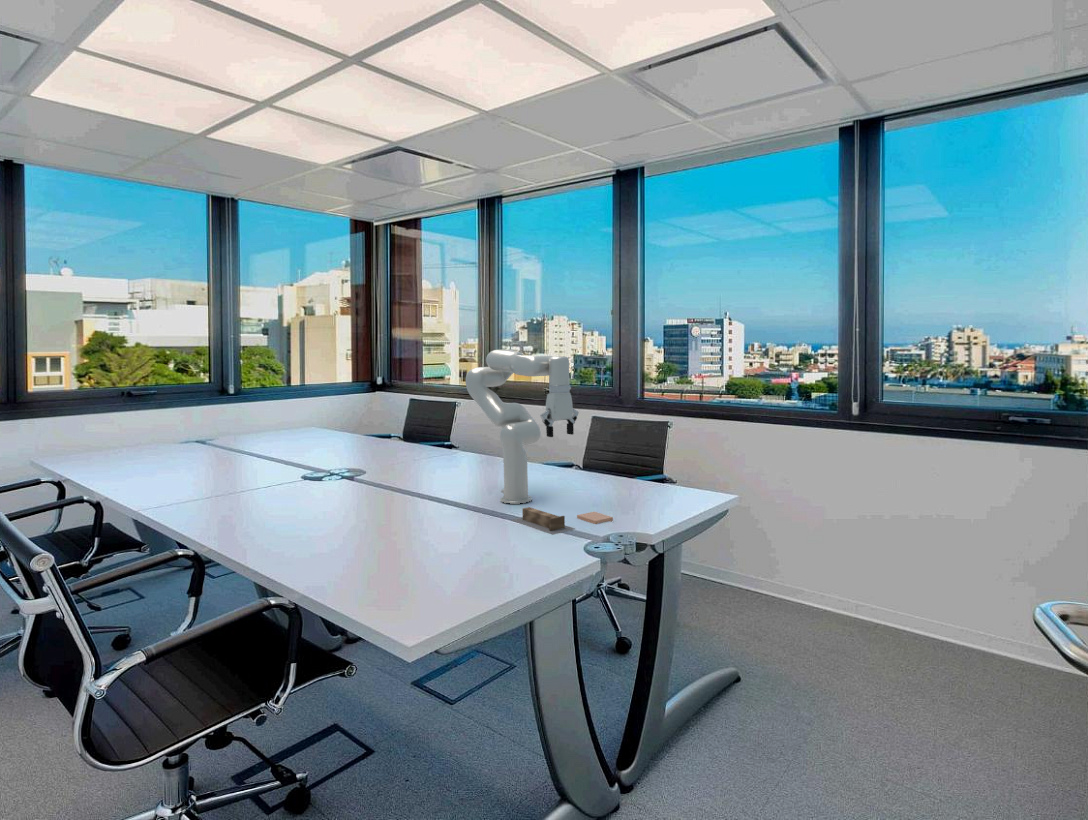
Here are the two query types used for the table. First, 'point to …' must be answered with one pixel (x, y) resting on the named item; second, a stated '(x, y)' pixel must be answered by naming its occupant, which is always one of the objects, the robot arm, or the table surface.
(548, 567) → the table surface
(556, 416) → the robot arm
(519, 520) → the tool mat
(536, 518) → the wooden beam
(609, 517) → the tile
